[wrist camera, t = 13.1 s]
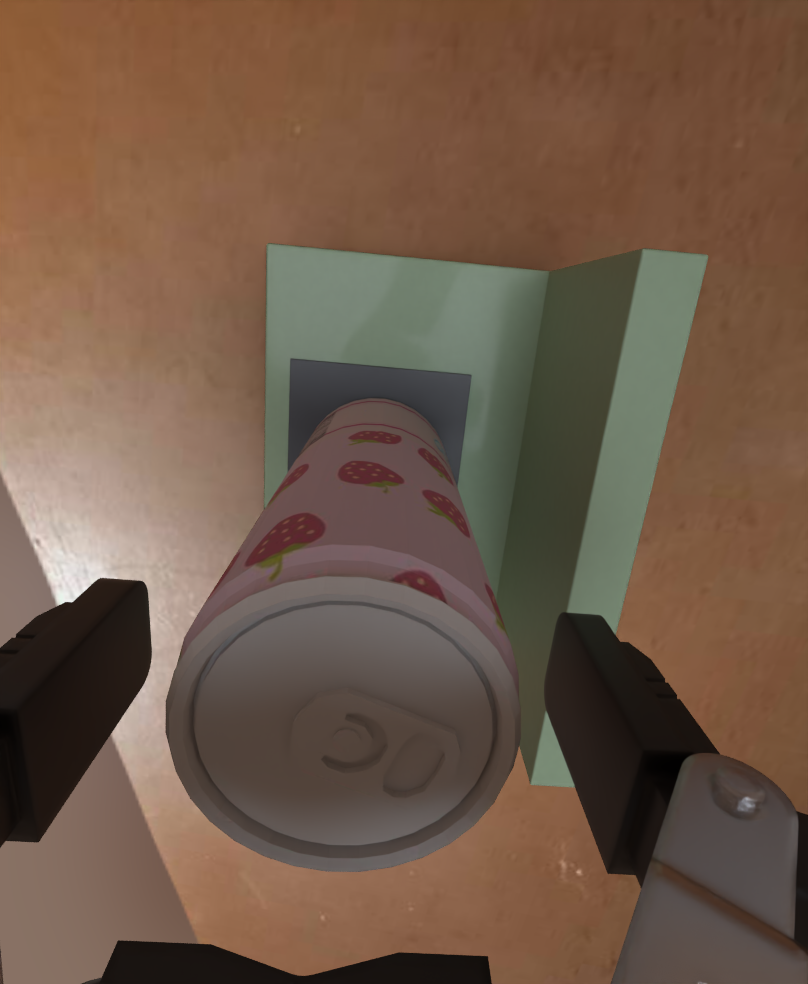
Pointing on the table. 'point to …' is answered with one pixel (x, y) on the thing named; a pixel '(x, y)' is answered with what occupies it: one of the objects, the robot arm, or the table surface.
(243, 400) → the table surface
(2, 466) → the table surface
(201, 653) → the beverage can
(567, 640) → the robot arm
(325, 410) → the bench
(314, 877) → the table surface
